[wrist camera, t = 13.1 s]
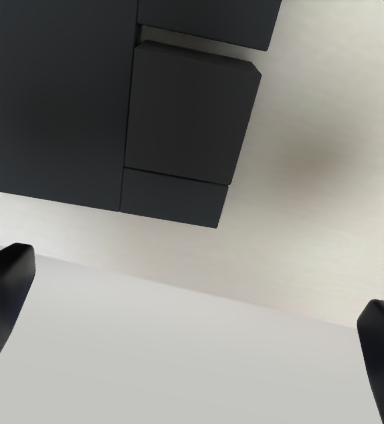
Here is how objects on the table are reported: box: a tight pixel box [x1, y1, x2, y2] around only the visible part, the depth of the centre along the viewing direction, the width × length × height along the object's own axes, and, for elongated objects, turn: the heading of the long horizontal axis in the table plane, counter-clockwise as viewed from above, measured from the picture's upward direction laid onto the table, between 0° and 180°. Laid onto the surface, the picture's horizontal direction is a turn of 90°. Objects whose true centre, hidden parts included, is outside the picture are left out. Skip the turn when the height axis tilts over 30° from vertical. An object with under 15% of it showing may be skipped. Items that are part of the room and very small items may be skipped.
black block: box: [124, 40, 262, 185], centre depth 15 cm, size 5×5×3 cm
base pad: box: [0, 0, 282, 228], centre depth 16 cm, size 12×16×2 cm
